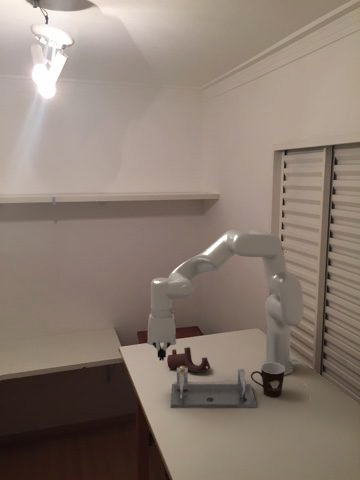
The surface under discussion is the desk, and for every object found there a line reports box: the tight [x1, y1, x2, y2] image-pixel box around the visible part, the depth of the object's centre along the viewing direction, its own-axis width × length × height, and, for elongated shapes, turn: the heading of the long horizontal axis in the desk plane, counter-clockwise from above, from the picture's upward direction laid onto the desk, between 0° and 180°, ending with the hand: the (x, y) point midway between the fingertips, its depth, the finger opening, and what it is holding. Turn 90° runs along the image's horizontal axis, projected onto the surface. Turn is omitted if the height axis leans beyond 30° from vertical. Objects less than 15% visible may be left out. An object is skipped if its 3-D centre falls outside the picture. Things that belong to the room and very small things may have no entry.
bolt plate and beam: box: [170, 368, 257, 409], centre depth 154 cm, size 30×14×8 cm, turn 88°
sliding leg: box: [176, 366, 189, 399], centre depth 155 cm, size 4×10×8 cm, turn 178°
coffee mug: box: [250, 362, 285, 399], centre depth 157 cm, size 12×9×10 cm
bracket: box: [166, 346, 211, 373], centre depth 175 cm, size 6×17×10 cm, turn 76°
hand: (161, 358), depth 157 cm, fingers closed
